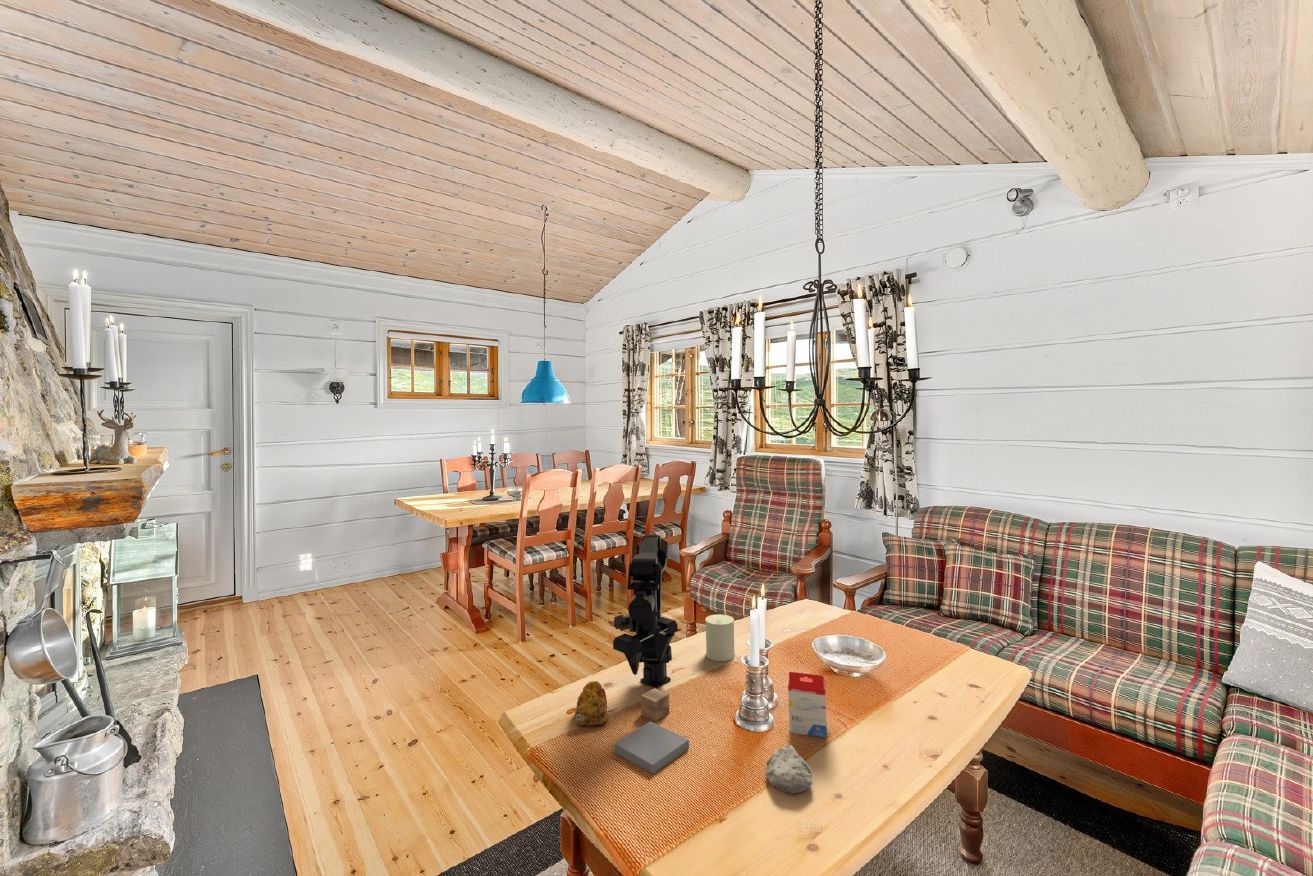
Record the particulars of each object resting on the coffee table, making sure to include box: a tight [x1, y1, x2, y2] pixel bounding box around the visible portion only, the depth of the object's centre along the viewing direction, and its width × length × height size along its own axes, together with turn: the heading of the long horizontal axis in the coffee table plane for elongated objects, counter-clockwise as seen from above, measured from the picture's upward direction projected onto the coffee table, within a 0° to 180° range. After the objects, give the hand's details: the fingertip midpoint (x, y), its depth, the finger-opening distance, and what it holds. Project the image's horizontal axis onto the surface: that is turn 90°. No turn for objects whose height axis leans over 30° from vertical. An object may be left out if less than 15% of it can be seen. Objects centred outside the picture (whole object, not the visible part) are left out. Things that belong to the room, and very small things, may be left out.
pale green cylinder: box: [705, 614, 736, 662], centre depth 174 cm, size 9×9×12 cm
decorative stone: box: [765, 744, 813, 795], centre depth 114 cm, size 12×11×5 cm
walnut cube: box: [640, 687, 670, 722], centre depth 140 cm, size 5×5×5 cm
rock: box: [573, 680, 609, 726], centre depth 140 cm, size 11×8×10 cm
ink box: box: [787, 671, 828, 739], centre depth 131 cm, size 8×5×15 cm, turn 71°
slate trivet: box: [613, 720, 690, 775], centre depth 124 cm, size 12×12×2 cm
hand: (647, 667), depth 140 cm, fingers open, 9 cm apart
